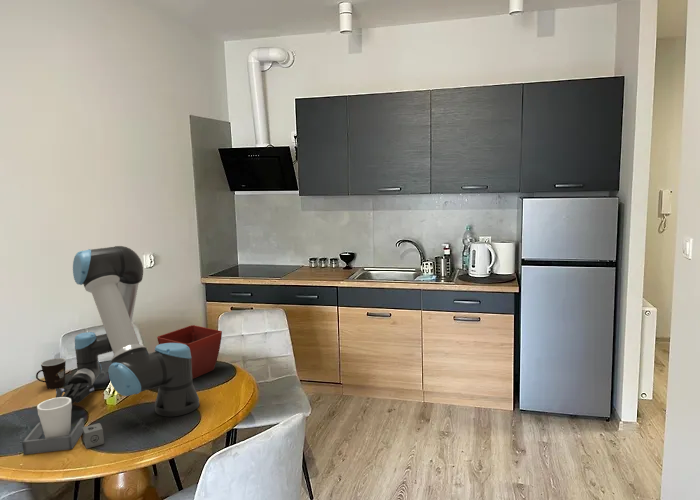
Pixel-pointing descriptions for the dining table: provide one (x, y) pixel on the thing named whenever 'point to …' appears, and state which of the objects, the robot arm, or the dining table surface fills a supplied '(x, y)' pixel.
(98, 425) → the grey cube
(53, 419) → the foam cup
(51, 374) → the coffee mug
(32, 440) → the tray
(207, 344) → the plant pot
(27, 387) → the dining table surface
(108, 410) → the dining table surface
